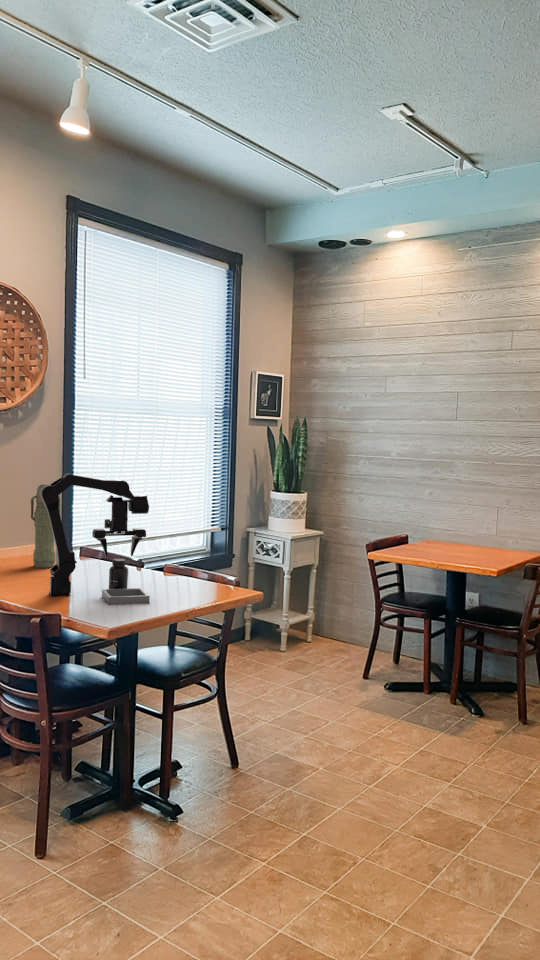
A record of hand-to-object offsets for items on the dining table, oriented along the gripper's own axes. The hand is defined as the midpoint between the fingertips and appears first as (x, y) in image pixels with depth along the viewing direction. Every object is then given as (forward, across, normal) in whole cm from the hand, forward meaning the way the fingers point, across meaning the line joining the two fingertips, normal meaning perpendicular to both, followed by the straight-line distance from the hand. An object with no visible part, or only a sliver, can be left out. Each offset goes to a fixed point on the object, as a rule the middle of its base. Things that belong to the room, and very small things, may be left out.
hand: (118, 556), depth 284 cm
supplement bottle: (+13, 0, 0) cm, 13 cm away
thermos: (+13, +21, -59) cm, 64 cm away
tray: (+13, 0, +14) cm, 19 cm away
